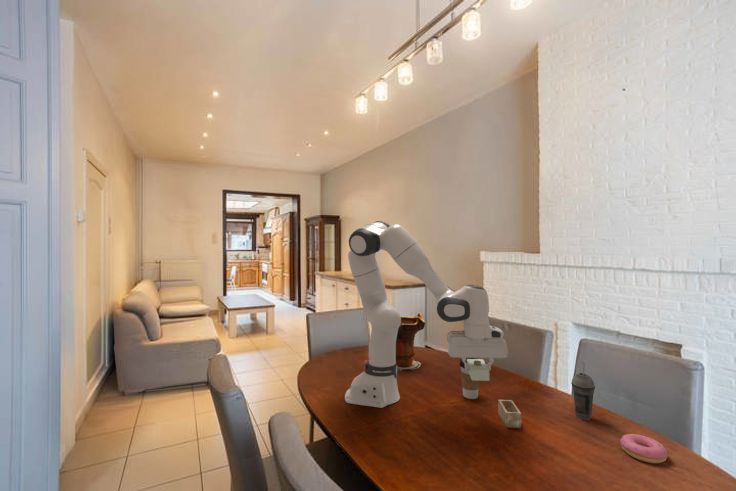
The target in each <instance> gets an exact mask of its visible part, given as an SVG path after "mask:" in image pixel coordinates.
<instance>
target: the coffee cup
mask: <svg viewBox="0 0 736 491" xmlns="http://www.w3.org/2000/svg"><path fill="white" fill-rule="evenodd" d="M467 359H479V358H466V360H465V362H466V363H467ZM459 367H460V377H461V378H460V379H461V387H462V395H463V397H464V398H466V399H469V400H475V399H478V397H479V386H480V381H477V380H472V379H471V377H470V374H469V372H468V370H465V364H464V363H463V361H462V359H460V361H459Z"/></svg>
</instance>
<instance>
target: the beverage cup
mask: <svg viewBox="0 0 736 491" xmlns="http://www.w3.org/2000/svg"><path fill="white" fill-rule="evenodd" d="M585 364H586V363H585V362H582V372H581V373H579V372H578V373H576V374H575V375H574V376H572V379H571V382H570V383H571V388H572V392H573V402H574V403H573V404H574V410H575V416H576V418H578V419H580V420H582V421H591V420H590V419H592V413H593V402H594V401H593V400H594V393H595V390H596V386H595V382H594V380H593V378H592V377H591V376H590V375H589V374H586V373H585Z"/></svg>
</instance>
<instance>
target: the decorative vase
mask: <svg viewBox="0 0 736 491" xmlns="http://www.w3.org/2000/svg"><path fill="white" fill-rule="evenodd" d="M400 317H401V324H400V326H399V328H398V333H397V338H396V363H397V371H402V370H406V371H409V370H416V369H420V367H421V364H422V363H421V362H419V361H417V360H415V359H414V357H415V354H416V353H415V348H414V346H415V337H416V334H418V332H420V331H422V330H424V328H425V326H426V321H425V320H424V317H423V314H422V313H421V312H418V313H417V314H416V316H408V315H407V316H402V315H400Z"/></svg>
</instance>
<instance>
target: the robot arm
mask: <svg viewBox="0 0 736 491" xmlns="http://www.w3.org/2000/svg"><path fill="white" fill-rule="evenodd" d="M348 246H349V249H350V250H349V251H348V255H347V257H348V263H349V264H348V265H349V268H350V272H351V274H352V277H353V280H354V283H355V285H356V288H357V291H358V293H359V297H360V300H361V304H362V307H363V308H362V309H363V312H364V315H365V318H366V320H367V322H368V323H370V326H371V330H370V338H369V342H368V359H366V360H364V362H363V371H362V372H361V373H360V374H358V375H357V376H355V377H354V378H353V380H352V382H351V385H350V387H349V388H348V389H347V390H346V392H345V394H344V401H345V403H347V404H352V405H359V406H365V407H366V406H367V407H374V408H380V409H382V408H384V407H387V406H388V405H393V404H394V403H397V402H398V401H400V399H401V396H400V393H399V389H398V388H399V387H398V382H397V376H398V370H397V363H396V338H397V333H398V328H399V326H400V324H401V317H400V316H401V315H400V313H399V311H398V310H397V308H396V307H395V306H393V305H391V304H390V303H389V301H388V295H387V291H386V285H385V281H384V277H383V275H382V272H381V271H380V268H379V264H378V262H377V259H376V254H377V253H378V252H380V251H381V250H383V251H384V252H387V253H388V254H389V255H390V257H391V259H392V260H393V261H394V262H395V263H396V265H397V266H398V267H399V268H400V269H401V270H402V271H403V272H405V273H406V274H408V275H410V276H412V277H415V278H417V279H419V280H420V281H421V282H422V283H423V284H424V285H425V286H426V288H427V289H428V290H429V291H430V293H432V294H431V295H433V296H434V298H435V300H436V303H437V305H436V312H437V315H438V316H439V318H440V319H441V320H443V321H445V322H447V323H455V322H461V321H463V330H450V331H449V332H448V333H447V335H446V341H447V343H448V345H447V346H448V347H447V354H448V356H449V357H450V358H461V359H462V361H463V363H464V364H465V370H470V368H469V364H467V363H466V362H465V360H466V358H478V359H488V360H489V361H488V363H485V364H486V365H487V367H488V369H489V371H491V370H492V365H493V363H494V362H495V359H506V358H507V357H508V355H509V354H508V353H509V351H508V344H507V340H506V339H504V335H505V333H504V332H503V330H502V329H501V328H499V327H497V326H494V325H490V319H489V312H490V302H489V294H488V291H487V290H486V289H485V288H484V287H482V286H479V285H474V284H465V285H464V286H463V287H461V288H460V289H458V290H454V289H453V288H451V287H449V286H448V285H447V284H446V283H445V282H444V280H443V279H442V277H440V275H439V274H438V273H437V272H436V270H434V268H433V266H432V264H431V261H430V260H429V258H428V256H427V254H426V252H425V251H424V249H423V248H422V246H421V245H420V243H419V241H417V240H416V239H415V237H414V236H413V235H412V234H411V233H410V232H409V231H408V230H406V228H404V227H403V226H402V225H401V224H392V225H390V224H389V223H387V222H386V221H382V220H379V221H374V222H370V223H367V224H365V225H363V226H362V227H360V228H358V229H355V230H354V231H353V232H352V233H351V234H350V236H349V239H348ZM461 359H460V360H461Z"/></svg>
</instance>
